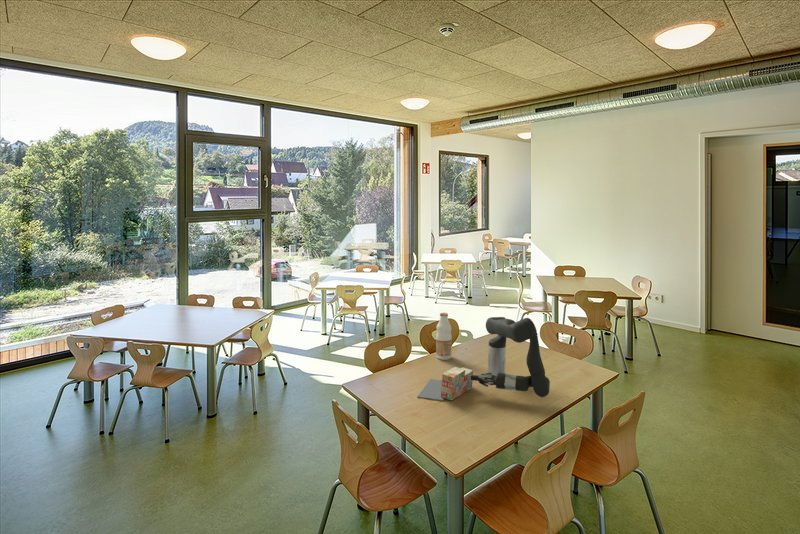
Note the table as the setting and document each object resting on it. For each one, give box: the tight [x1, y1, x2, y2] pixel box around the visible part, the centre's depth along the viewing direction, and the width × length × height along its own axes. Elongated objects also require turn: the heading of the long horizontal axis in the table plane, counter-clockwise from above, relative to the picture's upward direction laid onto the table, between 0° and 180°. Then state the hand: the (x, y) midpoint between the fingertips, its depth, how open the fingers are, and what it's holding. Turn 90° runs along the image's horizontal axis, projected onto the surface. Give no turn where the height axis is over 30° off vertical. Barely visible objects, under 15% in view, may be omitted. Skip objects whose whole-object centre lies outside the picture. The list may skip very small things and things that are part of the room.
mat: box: [417, 378, 446, 402], centre depth 236 cm, size 13×24×1 cm, turn 161°
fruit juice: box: [435, 312, 453, 361], centre depth 283 cm, size 9×9×28 cm
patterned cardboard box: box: [441, 366, 474, 401], centre depth 232 cm, size 21×6×12 cm, turn 144°
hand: (471, 377), depth 229 cm, fingers closed
